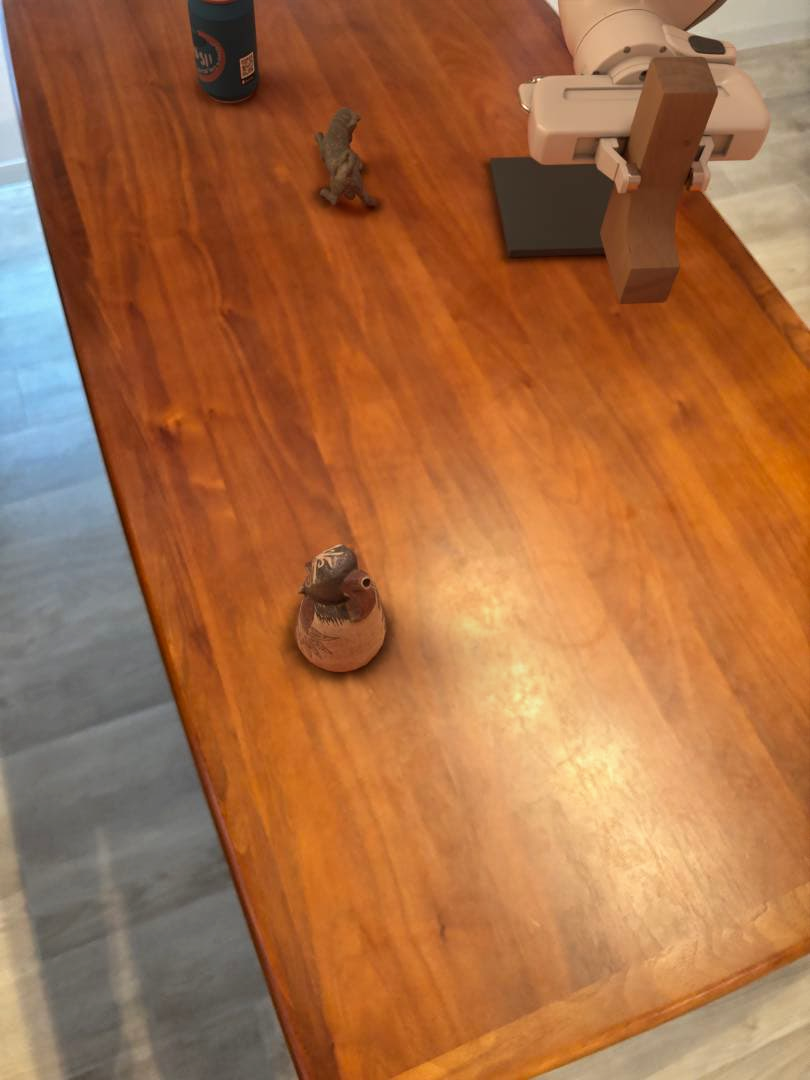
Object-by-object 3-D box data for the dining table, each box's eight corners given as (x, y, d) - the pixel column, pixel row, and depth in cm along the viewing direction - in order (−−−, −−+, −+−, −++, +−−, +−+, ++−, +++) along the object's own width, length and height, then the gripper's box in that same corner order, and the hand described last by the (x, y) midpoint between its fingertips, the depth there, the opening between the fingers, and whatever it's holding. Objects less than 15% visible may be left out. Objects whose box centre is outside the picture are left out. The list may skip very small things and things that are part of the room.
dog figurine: (379, 218, 105) (381, 160, 99) (324, 222, 104) (323, 163, 98) (364, 142, 111) (365, 82, 105) (311, 145, 110) (310, 85, 104)
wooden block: (667, 304, 89) (736, 131, 73) (617, 306, 88) (676, 133, 73) (645, 231, 93) (706, 54, 78) (598, 232, 93) (650, 54, 77)
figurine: (343, 578, 84) (343, 501, 73) (403, 635, 81) (412, 564, 71) (278, 631, 81) (268, 559, 71) (338, 692, 79) (337, 626, 68)
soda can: (186, 86, 114) (170, -17, 104) (231, 60, 117) (220, -43, 107) (228, 115, 112) (216, 12, 102) (273, 88, 115) (266, -15, 104)
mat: (613, 162, 112) (615, 154, 111) (640, 253, 105) (643, 246, 104) (489, 165, 110) (490, 157, 109) (508, 257, 103) (509, 250, 102)
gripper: (519, 45, 85) (547, 156, 78) (752, 42, 87) (798, 151, 80) (508, 110, 90) (533, 219, 84) (727, 106, 92) (769, 212, 86)
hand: (665, 186), depth 82 cm, fingers closed on wooden block, 4 cm apart
